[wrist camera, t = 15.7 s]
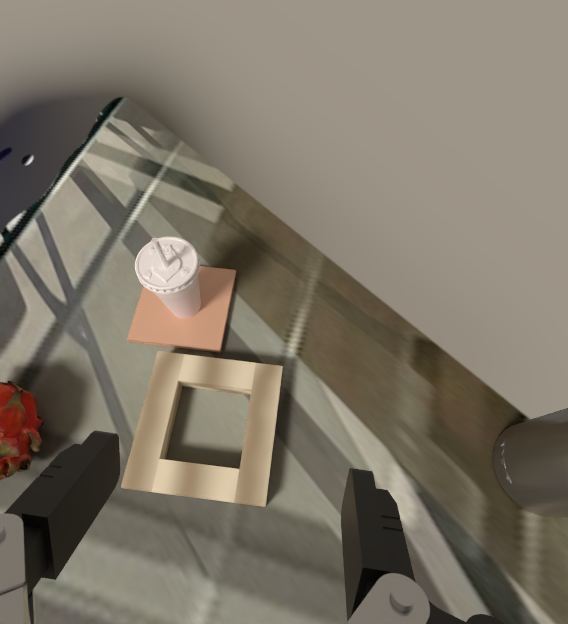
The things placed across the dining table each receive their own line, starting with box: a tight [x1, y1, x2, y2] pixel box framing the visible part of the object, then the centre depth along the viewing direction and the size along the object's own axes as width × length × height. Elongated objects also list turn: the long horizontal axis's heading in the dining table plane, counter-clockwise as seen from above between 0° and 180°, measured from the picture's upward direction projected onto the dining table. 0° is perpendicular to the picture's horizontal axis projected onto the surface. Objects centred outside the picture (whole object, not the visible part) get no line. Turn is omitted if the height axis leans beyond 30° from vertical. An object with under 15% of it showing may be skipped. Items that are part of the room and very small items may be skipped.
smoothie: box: [135, 237, 201, 318], centre depth 42 cm, size 6×6×14 cm
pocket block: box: [121, 351, 283, 507], centre depth 42 cm, size 14×14×2 cm
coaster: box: [127, 266, 236, 353], centre depth 49 cm, size 11×11×1 cm
